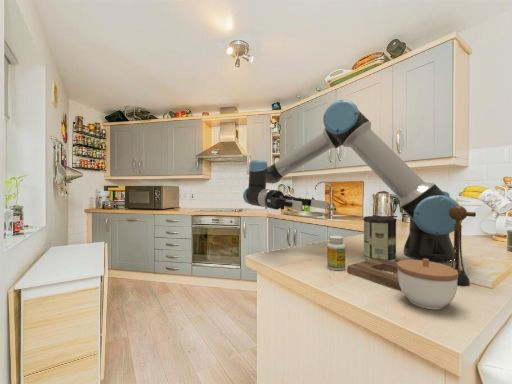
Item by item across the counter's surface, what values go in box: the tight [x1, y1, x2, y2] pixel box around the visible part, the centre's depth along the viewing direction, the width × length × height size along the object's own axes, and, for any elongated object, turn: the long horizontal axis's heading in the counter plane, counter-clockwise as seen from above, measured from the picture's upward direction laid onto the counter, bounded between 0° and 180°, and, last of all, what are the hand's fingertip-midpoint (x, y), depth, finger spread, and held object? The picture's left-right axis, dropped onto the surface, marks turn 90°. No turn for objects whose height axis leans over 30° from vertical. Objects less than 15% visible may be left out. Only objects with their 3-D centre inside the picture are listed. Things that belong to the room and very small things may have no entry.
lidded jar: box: [397, 259, 458, 311], centre depth 52 cm, size 11×11×9 cm
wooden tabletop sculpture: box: [449, 205, 477, 287], centre depth 62 cm, size 6×5×20 cm
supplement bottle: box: [326, 235, 346, 271], centre depth 75 cm, size 5×5×10 cm
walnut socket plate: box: [346, 258, 402, 292], centre depth 68 cm, size 15×15×2 cm
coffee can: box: [363, 216, 397, 262], centre depth 85 cm, size 10×10×14 cm
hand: (314, 205), depth 81 cm, fingers open, 13 cm apart
